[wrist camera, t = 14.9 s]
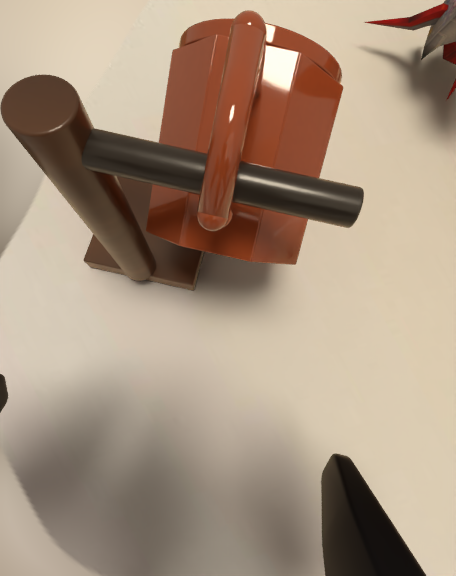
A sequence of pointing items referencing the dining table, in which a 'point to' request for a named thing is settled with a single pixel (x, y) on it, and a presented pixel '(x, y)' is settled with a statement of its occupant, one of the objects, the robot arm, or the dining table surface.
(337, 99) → the mug
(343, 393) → the dining table surface
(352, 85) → the dining table surface
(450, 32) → the toy spacecraft
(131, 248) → the mug rack
